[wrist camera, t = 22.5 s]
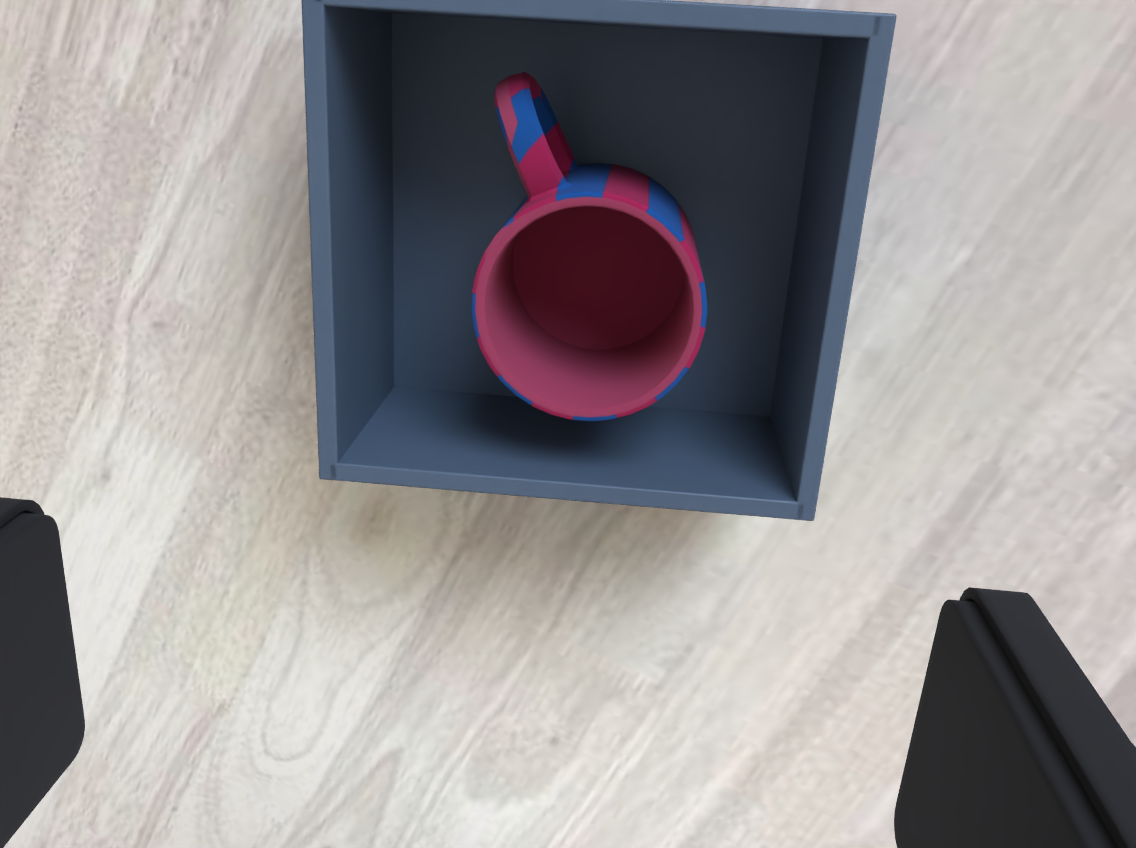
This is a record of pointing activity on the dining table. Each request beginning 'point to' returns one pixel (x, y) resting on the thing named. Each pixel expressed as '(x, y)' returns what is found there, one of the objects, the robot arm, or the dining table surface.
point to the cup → (585, 277)
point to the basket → (595, 135)
